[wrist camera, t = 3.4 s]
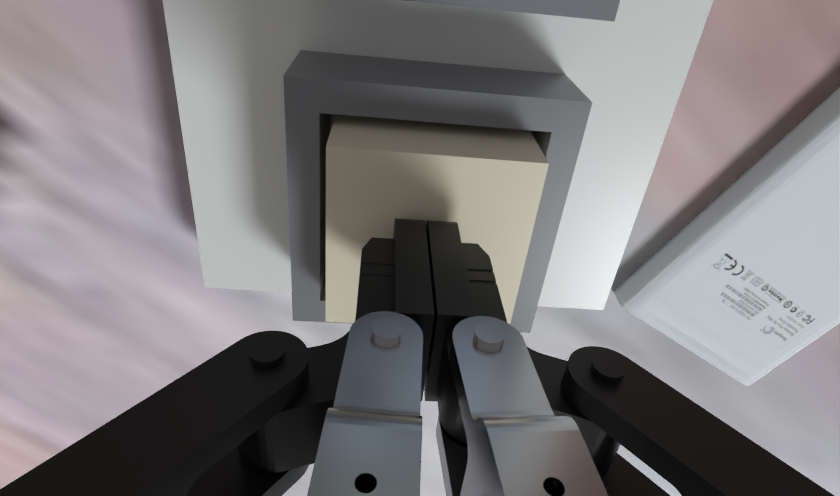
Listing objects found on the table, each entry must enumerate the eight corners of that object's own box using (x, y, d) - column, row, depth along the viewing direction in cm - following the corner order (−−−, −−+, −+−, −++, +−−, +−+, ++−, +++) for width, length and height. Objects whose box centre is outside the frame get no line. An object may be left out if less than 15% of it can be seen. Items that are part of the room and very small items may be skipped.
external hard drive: (1015, 157, 20) (732, 365, 25) (898, 17, 17) (608, 284, 22) (1062, 176, 18) (752, 392, 23) (943, 27, 15) (622, 310, 21)
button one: (527, 125, 14) (551, 167, 12) (494, 277, 17) (509, 336, 15) (336, 109, 14) (324, 149, 12) (335, 268, 17) (324, 326, 14)
